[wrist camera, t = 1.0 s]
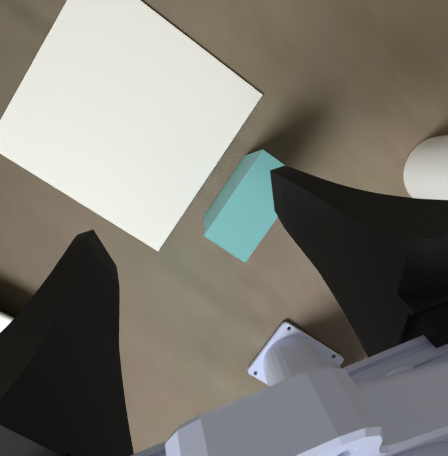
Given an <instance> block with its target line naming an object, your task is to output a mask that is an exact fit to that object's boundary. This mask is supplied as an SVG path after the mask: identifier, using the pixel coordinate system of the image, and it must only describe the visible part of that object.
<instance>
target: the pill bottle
mask: <svg viewBox="0 0 448 456" xmlns="http://www.w3.org/2000/svg"><path fill="white" fill-rule="evenodd" d="M403 178H404V184H405V188H406V190H407V192H408V193H409V195H410V196H411V197H412V198H419V199H435V200H448V135H442V136H436V137H432V138H429V139H426V140H424V141H423V142H421V143H420V144H418V145H417V146H416V147H415V148H414V149H413V150H412V152H411V153H410V155H409V156H408V158H407V160H406V163H405V167H404V173H403Z"/></svg>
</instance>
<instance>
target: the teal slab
mask: <svg viewBox="0 0 448 456" xmlns="http://www.w3.org/2000/svg"><path fill="white" fill-rule="evenodd" d="M281 166H285V165H284V164H282V163H281V162H280V161H278V160H277V159H275V158H274V157H273V156H271V155H270V154H269V153H267V152H266V151H265V150H260V151H257V152H254V153H251V154H248V155H245V156H244V157H243V159H242V160H241V162H240V163H239V165H238V166H237V168H236V169H235V171H234V172H233V174H232V175H231V176H230V178H229V179H228V181H227V182H226V184H225V185H224V187H223V188H222V190H221V191H220V193H219V194H218V196H217V197H216V199H215V200H214V202H213V203H212V204H211V206H210V207H209V209H208V210H207V212H206V213H205V215H204V216H203V224H204V236H205V237H206V238H208V239H209V240H211V241H213V242H214V243H216V244H217V245H219V246H220V247H222V248H223V249H225V250H226V251H228V252H229V253H231V254H233V255H234V256H236V257H237V258H239V259H240V260H242V261H243V262H246V261H247V259H248V258H249V257H250V255H251V254H252V252H253V251H254V250H255V248H256V247H257V245H258V244H259V243H260V241H261V240H262V238H263V237H264V236H265V234H266V233H267V231H268V230H269V229H270V227H271V226H272V224H273V223H274V222H275V220H276V219H277V217H278V216H277V214H276V212H275V210H274V201H273V193H272V184H271V176H270V170H272V169H275V168H278V167H281Z"/></svg>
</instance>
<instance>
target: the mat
mask: <svg viewBox="0 0 448 456" xmlns="http://www.w3.org/2000/svg"><path fill="white" fill-rule="evenodd" d="M261 97H262V94H261V93H260V92H258V91H257V90H256V89H255V88H253V87H252V86H251V85H249V84H248V83H247V82H245V81H244V80H243V79H242V78H240V77H239V76H238V75H236V74H235V73H234V72H233V71H231V70H230V69H229V68H227V67H226V66H225V65H223V64H222V63H221V62H220V61H218V60H217V59H216V58H214V57H213V56H212V55H210V54H209V53H208V52H207V51H205V50H204V49H203V48H201V47H200V46H199V45H198V44H196V43H195V42H194V41H192V40H191V39H190V38H188V37H187V36H186V35H185V34H183V33H182V32H181V31H179V30H178V29H177V28H175V27H174V26H173V25H172V24H170V23H169V22H168V21H166V20H165V19H164V18H163V17H161V16H160V15H159V14H157V13H156V12H155V11H153V10H152V9H151V8H150V7H148V6H147V5H146V4H144V3H143V2H142V1H140V0H67V2H66V3H65V5H64V7H63V9H62V11H61V12H60V14H59V16H58V18H57V20H56V21H55V23H54V25H53V27H52V29H51V30H50V32H49V34H48V36H47V38H46V39H45V41H44V43H43V45H42V47H41V48H40V50H39V52H38V54H37V56H36V57H35V59H34V61H33V63H32V65H31V66H30V68H29V70H28V72H27V74H26V75H25V77H24V79H23V81H22V83H21V84H20V86H19V88H18V90H17V92H16V93H15V95H14V97H13V99H12V100H11V102H10V104H9V106H8V108H7V109H6V111H5V113H4V115H3V117H2V118H1V120H0V154H2V155H4V156H5V157H7V158H8V159H10V160H12V161H13V162H15V163H17V164H18V165H20V166H21V167H23V168H25V169H26V170H28V171H29V172H31V173H33V174H34V175H36V176H37V177H39V178H41V179H42V180H44V181H46V182H47V183H49V184H50V185H52V186H54V187H55V188H57V189H58V190H60V191H62V192H63V193H65V194H66V195H68V196H70V197H71V198H73V199H75V200H76V201H78V202H79V203H81V204H83V205H84V206H86V207H87V208H89V209H91V210H92V211H94V212H96V213H97V214H99V215H100V216H102V217H104V218H105V219H107V220H108V221H110V222H112V223H113V224H115V225H116V226H118V227H120V228H121V229H123V230H125V231H126V232H128V233H129V234H131V235H133V236H134V237H136V238H137V239H139V240H141V241H142V242H144V243H145V244H147V245H149V246H150V247H152V248H154V249H155V250H157V251H159V250H160V248H161V247H162V245H163V244H164V242H165V241H166V239H167V238H168V236H169V235H170V233H171V232H172V230H173V229H174V227H175V226H176V224H177V223H178V221H179V220H180V218H181V217H182V215H183V214H184V212H185V211H186V209H187V208H188V206H189V205H190V203H191V202H192V200H193V199H194V197H195V196H196V194H197V193H198V191H199V190H200V188H201V187H202V185H203V184H204V182H205V181H206V179H207V178H208V176H209V175H210V173H211V172H212V170H213V169H214V167H215V166H216V164H217V163H218V161H219V160H220V158H221V157H222V155H223V154H224V152H225V151H226V149H227V148H228V146H229V145H230V143H231V142H232V140H233V139H234V137H235V136H236V134H237V133H238V131H239V130H240V128H241V127H242V125H243V124H244V122H245V121H246V119H247V118H248V116H249V115H250V113H251V112H252V110H253V109H254V107H255V106H256V104H257V103H258V101H259V100H260V98H261Z"/></svg>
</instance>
